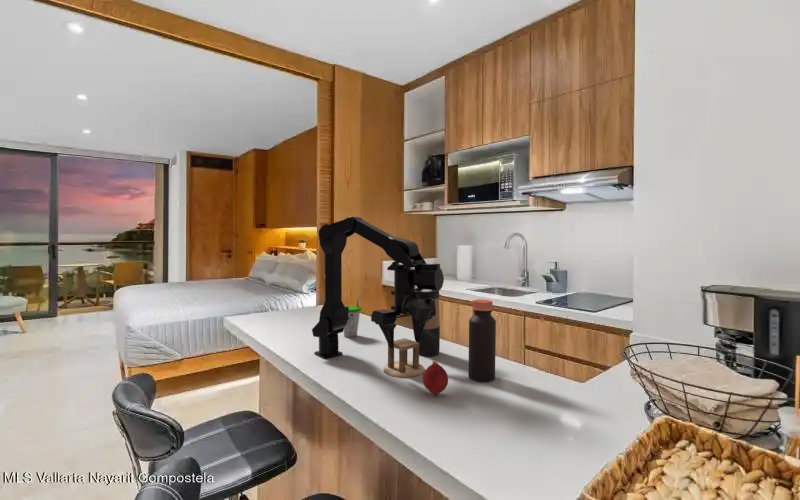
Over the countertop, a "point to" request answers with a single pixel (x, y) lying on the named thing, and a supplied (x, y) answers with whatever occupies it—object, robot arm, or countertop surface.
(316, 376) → the countertop surface
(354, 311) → the cup
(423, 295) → the travel mug
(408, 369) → the trivet
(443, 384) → the onion
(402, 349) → the tan block with prongs
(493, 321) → the bottle
